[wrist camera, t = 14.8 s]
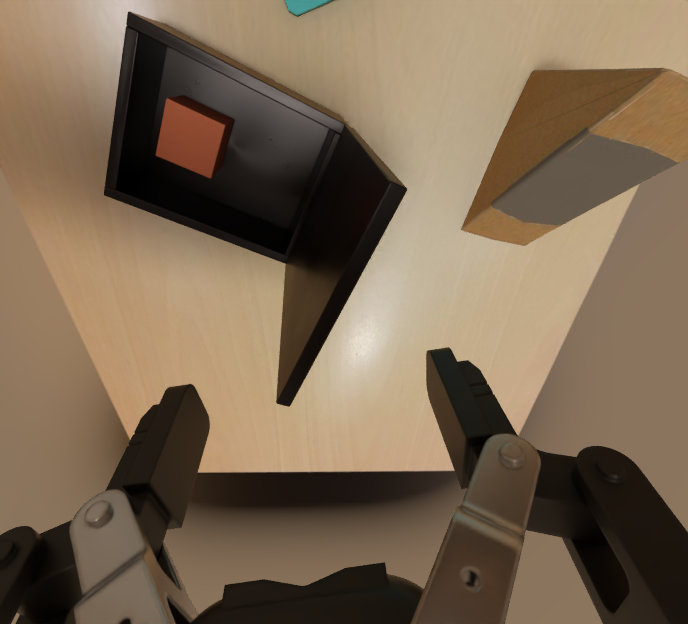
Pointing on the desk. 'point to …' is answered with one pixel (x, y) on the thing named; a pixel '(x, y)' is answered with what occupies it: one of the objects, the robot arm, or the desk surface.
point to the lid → (332, 253)
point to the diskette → (304, 5)
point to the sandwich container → (579, 147)
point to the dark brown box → (242, 151)
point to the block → (194, 135)
